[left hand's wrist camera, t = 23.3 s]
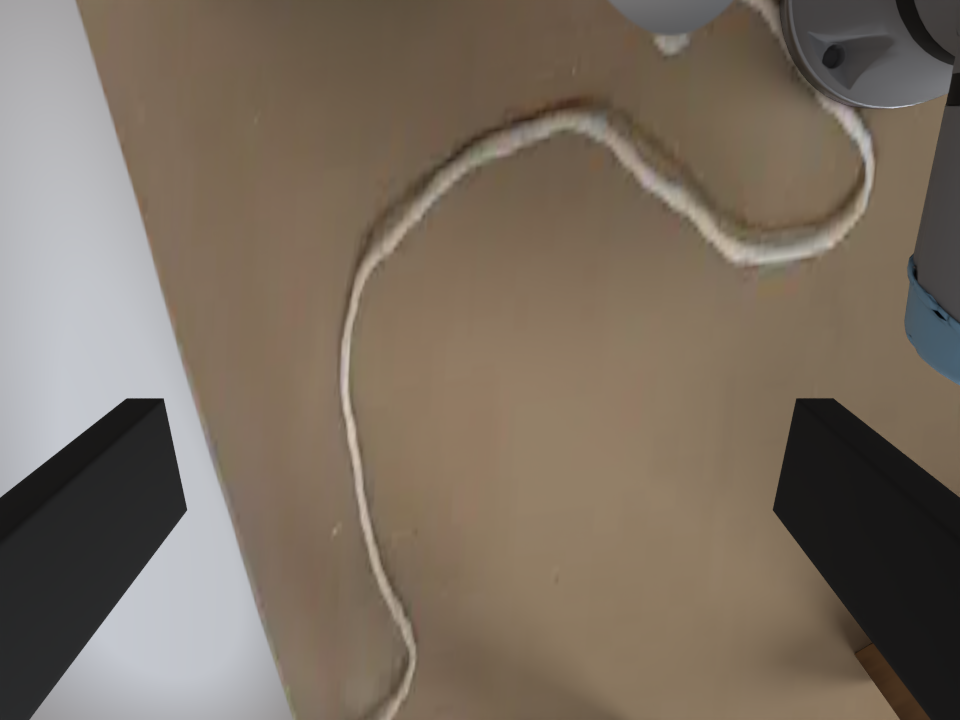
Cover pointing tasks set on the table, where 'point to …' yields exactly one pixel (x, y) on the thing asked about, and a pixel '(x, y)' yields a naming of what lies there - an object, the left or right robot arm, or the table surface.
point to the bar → (890, 684)
